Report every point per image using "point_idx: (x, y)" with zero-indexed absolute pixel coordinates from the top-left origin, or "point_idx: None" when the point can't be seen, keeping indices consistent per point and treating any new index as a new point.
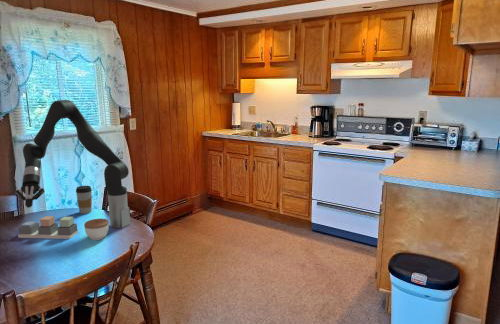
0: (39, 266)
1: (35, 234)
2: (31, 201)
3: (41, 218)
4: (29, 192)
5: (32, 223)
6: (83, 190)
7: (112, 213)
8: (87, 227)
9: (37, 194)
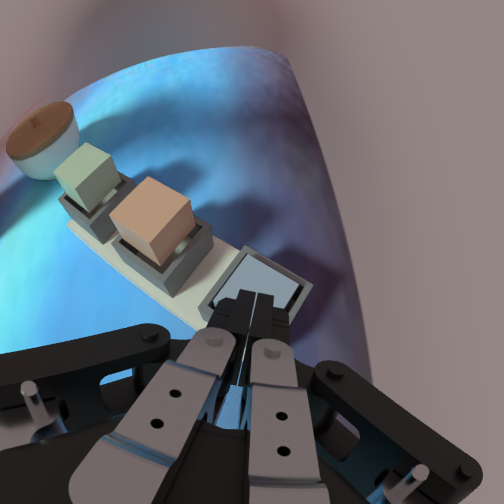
0: (230, 81)
1: (227, 252)
2: (216, 319)
3: (178, 210)
4: (224, 435)
5: (234, 275)
6: None
7: None
8: (72, 109)
9: (103, 342)
